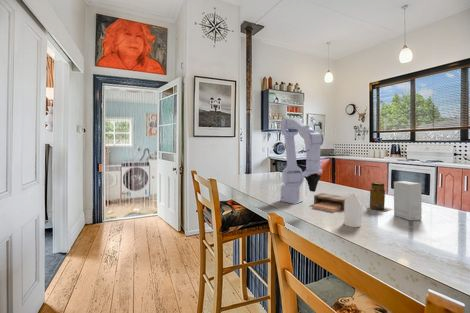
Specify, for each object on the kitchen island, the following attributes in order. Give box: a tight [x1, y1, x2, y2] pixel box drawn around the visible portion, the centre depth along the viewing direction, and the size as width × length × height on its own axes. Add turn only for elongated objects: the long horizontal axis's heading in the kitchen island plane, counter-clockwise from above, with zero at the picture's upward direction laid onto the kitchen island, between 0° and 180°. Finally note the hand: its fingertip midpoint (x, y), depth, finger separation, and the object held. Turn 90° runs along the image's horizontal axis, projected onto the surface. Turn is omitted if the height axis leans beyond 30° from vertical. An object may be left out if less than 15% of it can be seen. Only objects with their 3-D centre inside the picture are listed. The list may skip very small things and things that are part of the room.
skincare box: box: [393, 180, 423, 221], centre depth 101 cm, size 8×6×15 cm
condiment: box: [365, 181, 392, 212], centre depth 115 cm, size 7×8×12 cm
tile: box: [312, 200, 343, 213], centre depth 117 cm, size 10×14×2 cm
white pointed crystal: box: [343, 193, 363, 228], centre depth 93 cm, size 6×12×6 cm
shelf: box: [313, 192, 349, 211], centre depth 121 cm, size 15×8×4 cm, turn 46°
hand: (312, 191), depth 107 cm, fingers closed
